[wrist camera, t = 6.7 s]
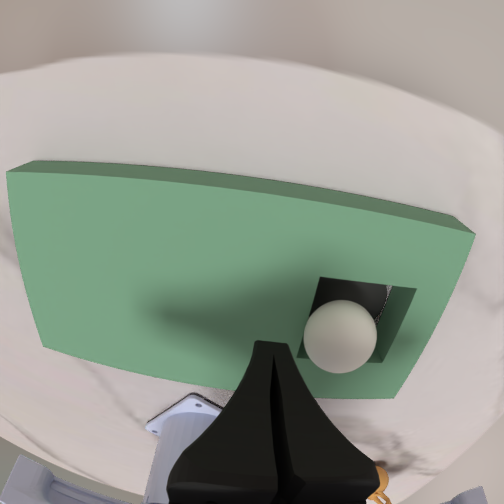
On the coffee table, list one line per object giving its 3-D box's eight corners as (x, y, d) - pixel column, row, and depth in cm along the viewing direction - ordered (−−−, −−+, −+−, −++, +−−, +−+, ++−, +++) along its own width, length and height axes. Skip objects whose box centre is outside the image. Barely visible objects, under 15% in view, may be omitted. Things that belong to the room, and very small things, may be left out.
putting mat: (452, 216, 15) (475, 234, 13) (385, 372, 20) (393, 398, 18) (33, 160, 15) (5, 171, 12) (58, 325, 20) (43, 346, 18)
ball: (385, 348, 15) (376, 383, 12) (323, 356, 17) (302, 389, 14) (374, 285, 15) (363, 308, 12) (309, 297, 17) (284, 320, 14)
